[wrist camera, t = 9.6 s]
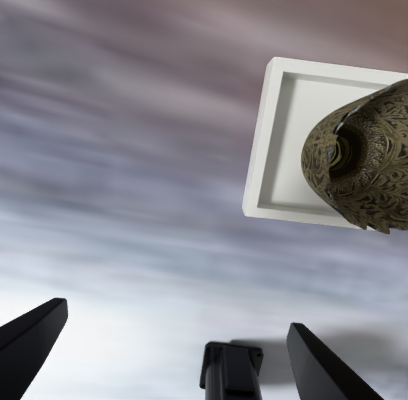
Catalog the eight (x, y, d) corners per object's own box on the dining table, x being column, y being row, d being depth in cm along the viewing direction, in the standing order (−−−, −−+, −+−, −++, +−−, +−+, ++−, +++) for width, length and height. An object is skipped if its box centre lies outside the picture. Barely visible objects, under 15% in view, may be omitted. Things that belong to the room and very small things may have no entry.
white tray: (367, 222, 20) (384, 231, 18) (241, 208, 20) (245, 215, 18) (416, 84, 17) (442, 78, 15) (266, 65, 17) (274, 56, 15)
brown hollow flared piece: (326, 211, 19) (405, 259, 12) (259, 166, 18) (298, 188, 11) (388, 137, 18) (529, 137, 10) (317, 83, 17) (413, 37, 9)
